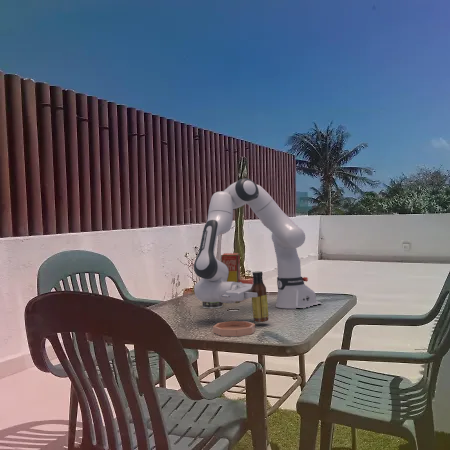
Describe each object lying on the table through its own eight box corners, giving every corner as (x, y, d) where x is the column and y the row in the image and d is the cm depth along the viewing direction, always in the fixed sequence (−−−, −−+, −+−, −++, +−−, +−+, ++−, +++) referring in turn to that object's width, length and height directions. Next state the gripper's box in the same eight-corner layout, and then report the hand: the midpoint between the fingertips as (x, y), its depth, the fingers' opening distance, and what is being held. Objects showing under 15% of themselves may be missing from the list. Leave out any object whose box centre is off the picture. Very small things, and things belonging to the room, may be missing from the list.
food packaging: (239, 303, 249) (237, 254, 249) (221, 303, 250) (219, 255, 250) (241, 298, 262) (240, 252, 262) (224, 299, 263) (222, 253, 263)
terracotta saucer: (241, 325, 194) (241, 319, 194) (261, 332, 181) (261, 325, 181) (208, 330, 187) (207, 324, 187) (226, 338, 174) (226, 331, 174)
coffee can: (225, 307, 237) (224, 278, 237) (204, 309, 234) (203, 280, 234) (220, 304, 247) (218, 276, 247) (200, 306, 244) (199, 278, 244)
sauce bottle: (267, 318, 198) (265, 270, 198) (269, 322, 192) (267, 272, 191) (251, 319, 198) (249, 271, 197) (253, 322, 191) (251, 272, 191)
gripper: (218, 288, 191) (250, 289, 185) (240, 281, 209) (270, 281, 203) (219, 304, 191) (251, 305, 185) (240, 295, 209) (270, 296, 203)
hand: (261, 293), depth 194 cm, fingers closed on sauce bottle, 6 cm apart
